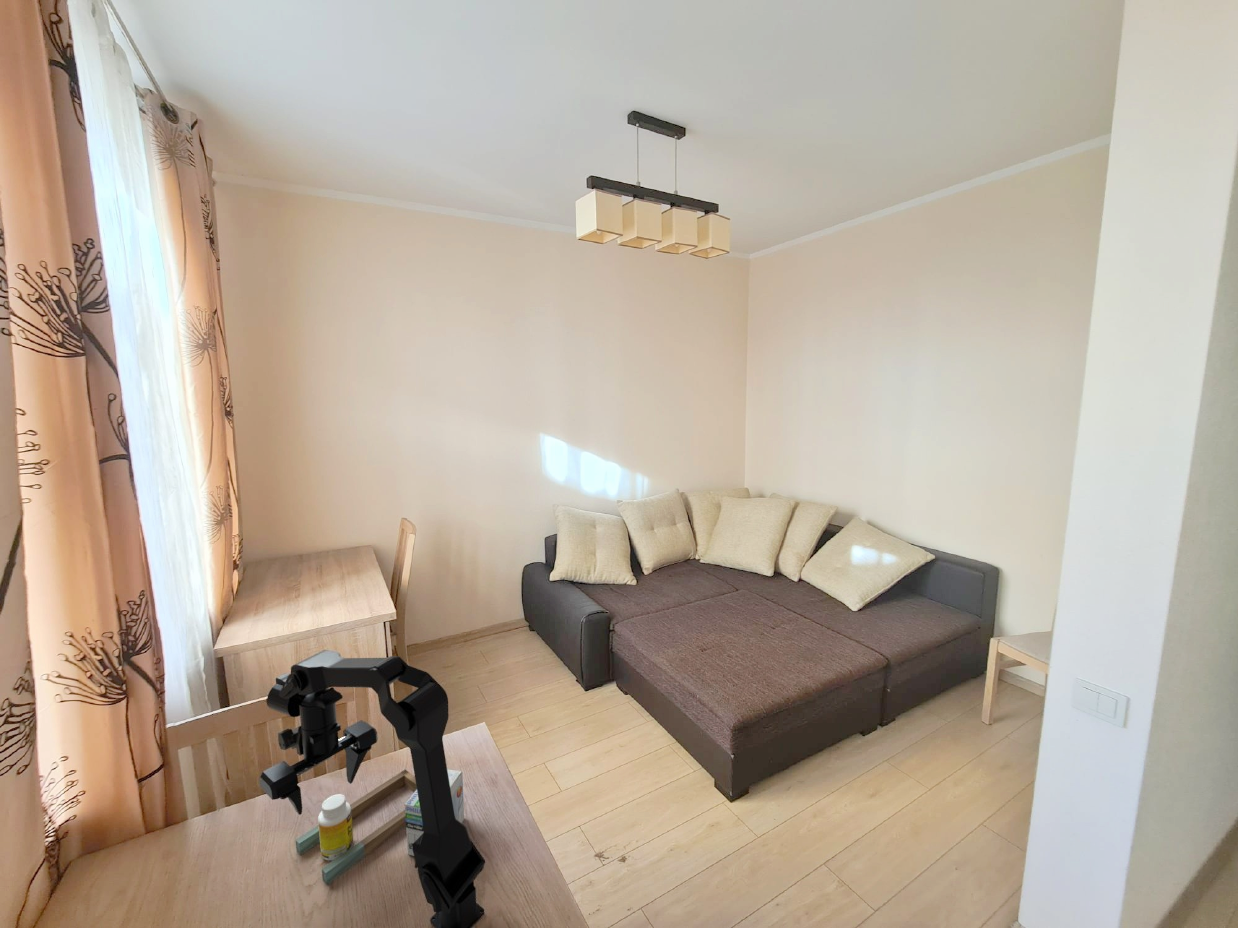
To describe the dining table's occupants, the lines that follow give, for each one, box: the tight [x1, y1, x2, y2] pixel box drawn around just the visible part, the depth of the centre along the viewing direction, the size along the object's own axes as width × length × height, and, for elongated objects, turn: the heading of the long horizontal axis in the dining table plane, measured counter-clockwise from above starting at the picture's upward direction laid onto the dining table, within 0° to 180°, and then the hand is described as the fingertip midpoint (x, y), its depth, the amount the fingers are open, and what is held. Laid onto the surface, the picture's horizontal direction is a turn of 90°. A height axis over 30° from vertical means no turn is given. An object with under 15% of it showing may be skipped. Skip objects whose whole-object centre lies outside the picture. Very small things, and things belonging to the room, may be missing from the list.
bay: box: [295, 769, 417, 886], centre depth 105 cm, size 12×23×2 cm, turn 144°
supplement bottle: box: [317, 793, 354, 861], centre depth 99 cm, size 6×6×10 cm
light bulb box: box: [404, 768, 465, 857], centre depth 102 cm, size 11×7×11 cm, turn 168°
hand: (325, 797), depth 97 cm, fingers open, 9 cm apart
